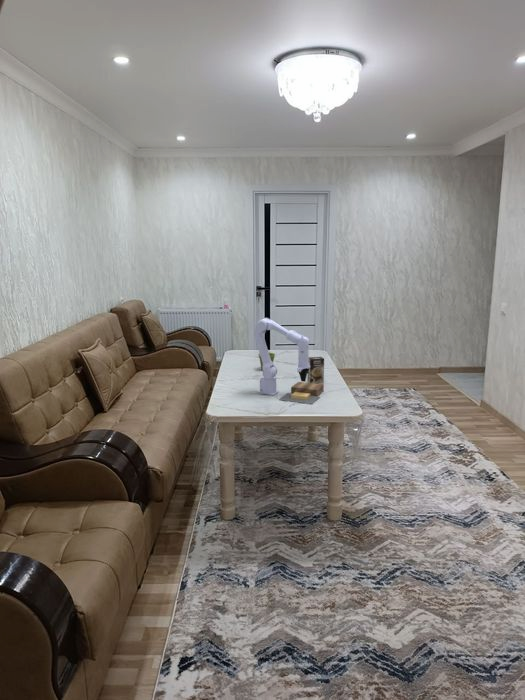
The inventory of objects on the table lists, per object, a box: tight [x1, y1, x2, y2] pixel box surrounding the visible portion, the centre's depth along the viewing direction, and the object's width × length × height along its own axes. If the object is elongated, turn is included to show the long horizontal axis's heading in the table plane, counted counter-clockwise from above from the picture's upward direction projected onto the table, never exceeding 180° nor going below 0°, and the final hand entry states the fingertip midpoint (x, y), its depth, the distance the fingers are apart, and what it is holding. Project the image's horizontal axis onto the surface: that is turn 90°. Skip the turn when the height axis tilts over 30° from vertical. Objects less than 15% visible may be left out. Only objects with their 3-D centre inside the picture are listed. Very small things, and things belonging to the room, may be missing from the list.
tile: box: [291, 392, 310, 400], centre depth 290 cm, size 9×6×2 cm, turn 66°
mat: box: [278, 392, 321, 405], centre depth 290 cm, size 20×14×1 cm
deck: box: [290, 381, 325, 397], centre depth 301 cm, size 16×12×4 cm
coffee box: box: [306, 356, 325, 384], centre depth 319 cm, size 9×6×16 cm
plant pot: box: [257, 352, 276, 372], centre depth 351 cm, size 12×12×11 cm
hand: (303, 381), depth 293 cm, fingers closed
